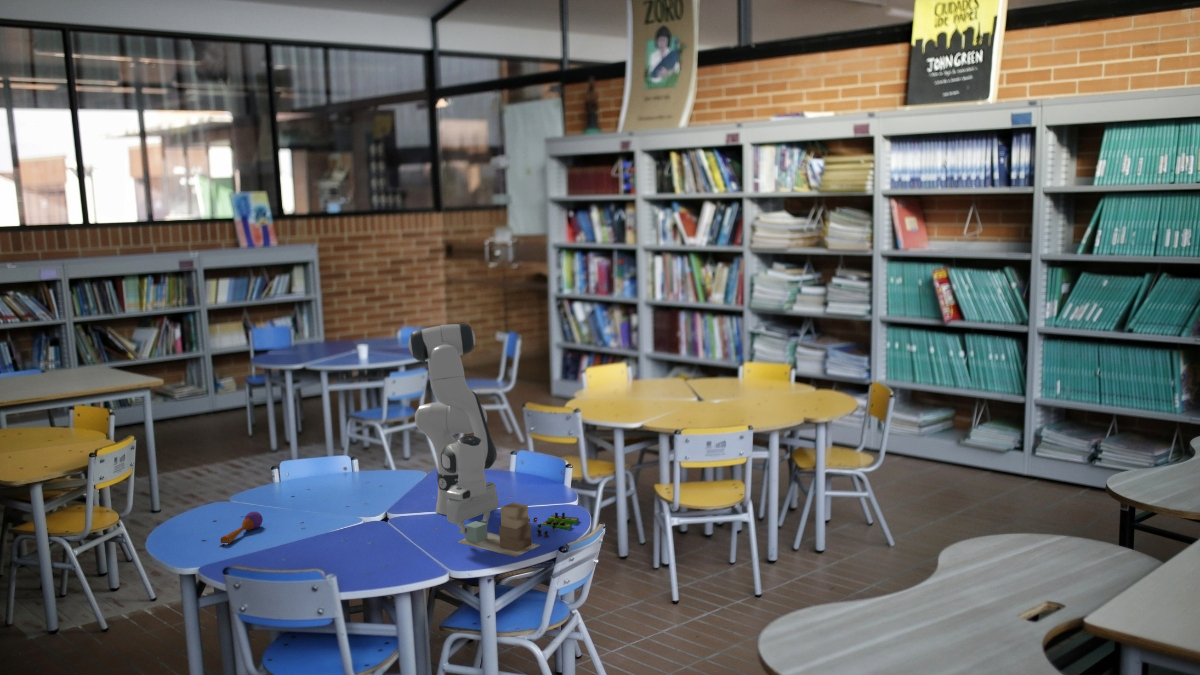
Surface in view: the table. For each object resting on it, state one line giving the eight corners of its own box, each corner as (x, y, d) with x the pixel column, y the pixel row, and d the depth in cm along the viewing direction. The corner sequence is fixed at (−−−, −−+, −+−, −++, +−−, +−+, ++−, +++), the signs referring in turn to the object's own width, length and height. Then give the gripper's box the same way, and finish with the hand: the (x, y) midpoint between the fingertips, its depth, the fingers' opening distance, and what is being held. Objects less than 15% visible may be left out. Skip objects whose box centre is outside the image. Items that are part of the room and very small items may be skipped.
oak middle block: (514, 520, 310) (513, 502, 309) (528, 523, 306) (527, 505, 306) (501, 525, 305) (500, 507, 304) (515, 529, 302) (515, 510, 301)
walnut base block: (514, 540, 312) (513, 519, 311) (531, 544, 307) (530, 523, 306) (500, 547, 306) (499, 526, 305) (517, 551, 302) (516, 530, 301)
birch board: (482, 535, 322) (482, 530, 322) (541, 549, 307) (540, 544, 307) (456, 546, 313) (456, 541, 312) (515, 561, 298) (515, 556, 298)
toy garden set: (552, 546, 312) (551, 532, 311) (498, 540, 319) (497, 526, 318) (579, 522, 333) (578, 509, 333) (528, 517, 340) (527, 505, 339)
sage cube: (476, 535, 317) (475, 520, 317) (487, 538, 315) (486, 523, 314) (465, 540, 313) (464, 525, 313) (476, 543, 311) (476, 528, 310)
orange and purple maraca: (214, 533, 321) (248, 510, 340) (220, 550, 322) (253, 525, 341) (230, 531, 319) (263, 507, 338) (235, 548, 320) (268, 523, 339)
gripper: (487, 478, 321) (489, 519, 323) (442, 493, 305) (444, 536, 307) (501, 481, 317) (503, 522, 319) (456, 496, 301) (458, 540, 303)
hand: (474, 529), depth 313 cm, fingers open, 8 cm apart
